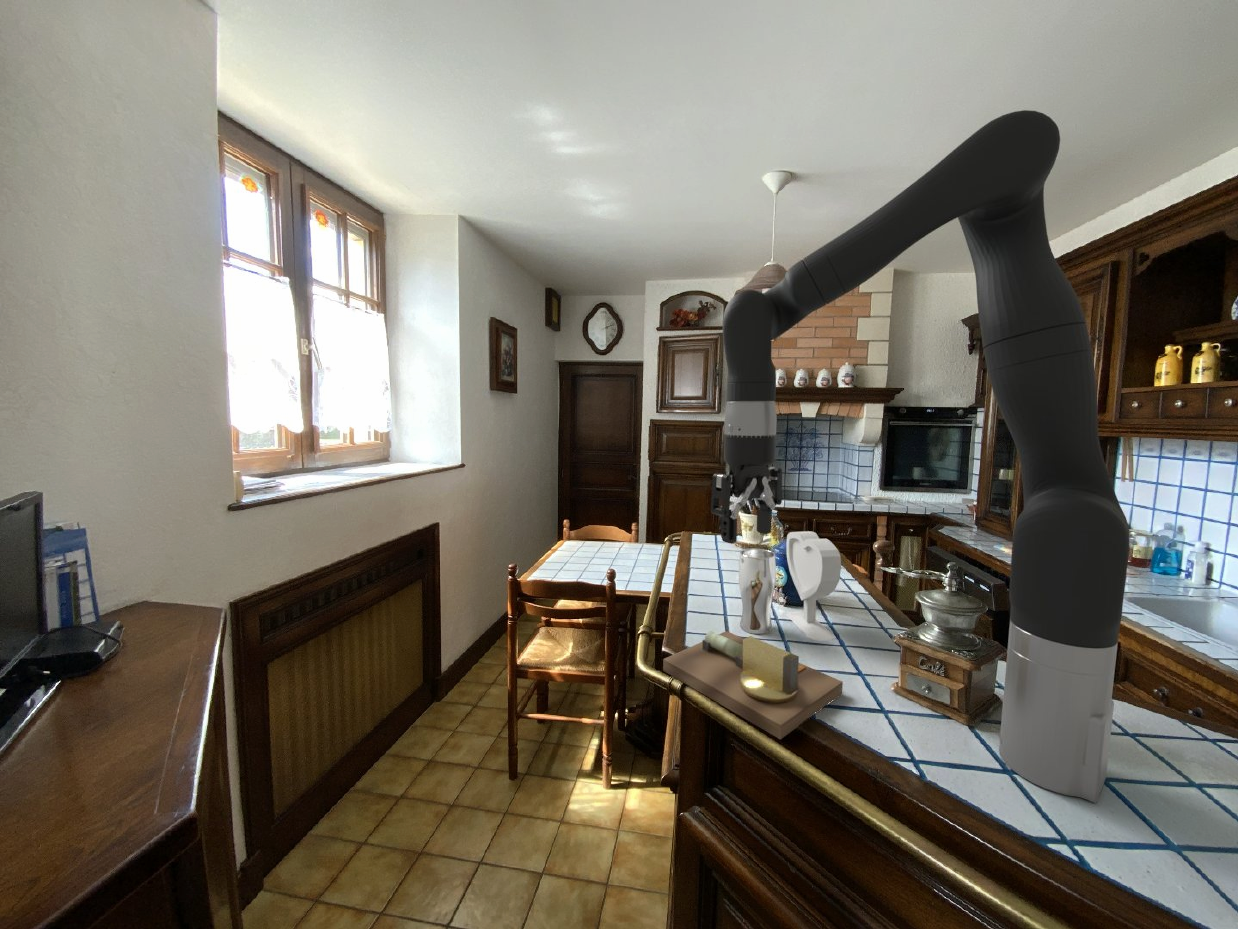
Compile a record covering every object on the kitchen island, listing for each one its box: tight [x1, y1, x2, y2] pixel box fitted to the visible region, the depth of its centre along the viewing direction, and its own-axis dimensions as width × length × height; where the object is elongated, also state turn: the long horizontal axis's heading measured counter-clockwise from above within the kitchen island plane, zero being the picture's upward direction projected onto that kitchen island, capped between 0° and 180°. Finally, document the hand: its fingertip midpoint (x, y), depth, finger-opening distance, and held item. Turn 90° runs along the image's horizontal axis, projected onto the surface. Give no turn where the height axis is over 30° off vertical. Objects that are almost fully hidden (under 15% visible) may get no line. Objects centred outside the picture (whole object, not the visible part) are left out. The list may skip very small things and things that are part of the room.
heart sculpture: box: [784, 530, 842, 642], centre depth 97 cm, size 16×5×18 cm, turn 5°
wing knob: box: [740, 635, 800, 703], centre depth 72 cm, size 8×8×6 cm
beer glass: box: [738, 547, 777, 635], centre depth 96 cm, size 7×7×15 cm
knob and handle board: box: [662, 630, 843, 740], centre depth 77 cm, size 22×16×5 cm
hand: (747, 537), depth 76 cm, fingers open, 8 cm apart
